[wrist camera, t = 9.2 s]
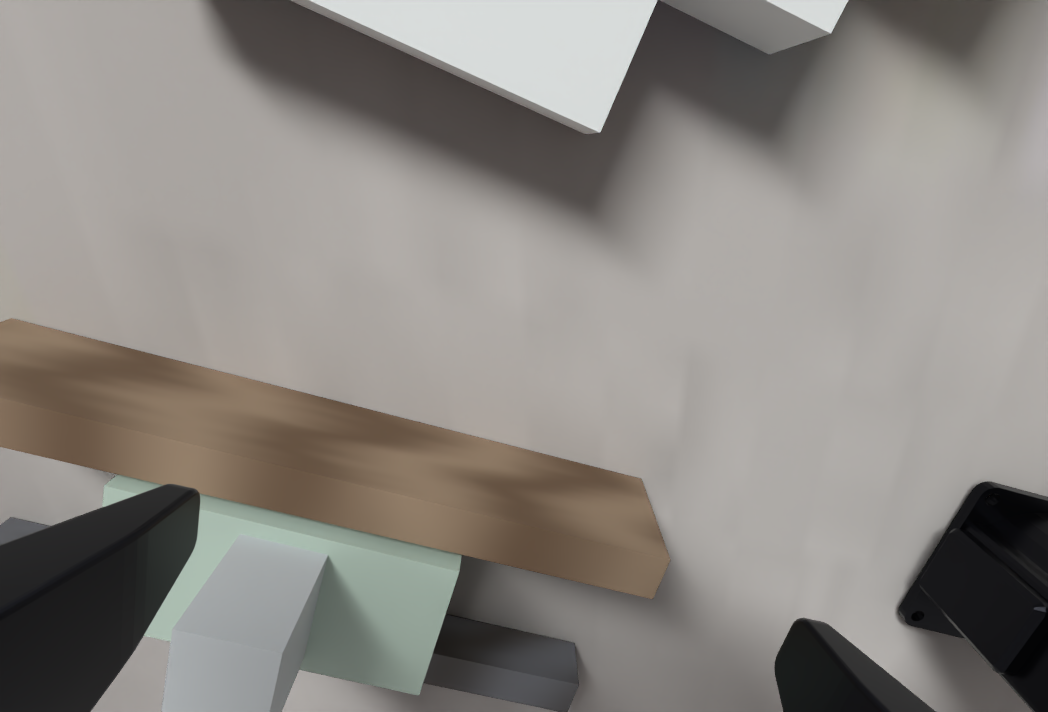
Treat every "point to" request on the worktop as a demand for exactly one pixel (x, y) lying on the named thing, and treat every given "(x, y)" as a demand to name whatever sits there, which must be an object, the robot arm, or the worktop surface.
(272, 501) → the brown and gray bars
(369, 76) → the worktop surface
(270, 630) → the mint block with post
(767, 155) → the worktop surface
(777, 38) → the pixel art tile
